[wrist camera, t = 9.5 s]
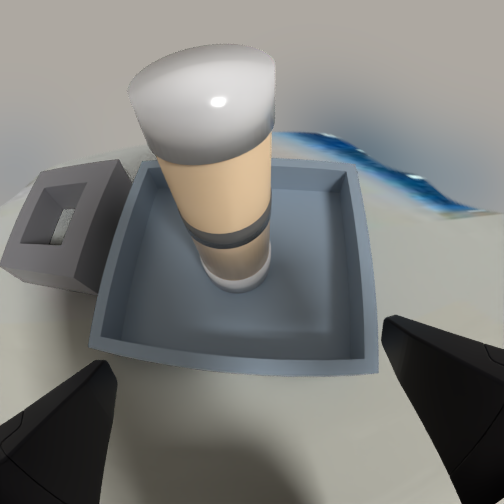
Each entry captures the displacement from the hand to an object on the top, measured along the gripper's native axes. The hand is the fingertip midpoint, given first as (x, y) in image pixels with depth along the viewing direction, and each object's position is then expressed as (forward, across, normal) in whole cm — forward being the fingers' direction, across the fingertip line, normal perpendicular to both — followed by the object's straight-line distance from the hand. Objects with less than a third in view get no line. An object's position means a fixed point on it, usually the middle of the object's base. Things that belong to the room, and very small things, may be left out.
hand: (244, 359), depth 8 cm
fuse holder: (+15, +14, -3) cm, 20 cm away
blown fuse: (+10, 0, +1) cm, 11 cm away
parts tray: (+11, 0, +1) cm, 11 cm away
